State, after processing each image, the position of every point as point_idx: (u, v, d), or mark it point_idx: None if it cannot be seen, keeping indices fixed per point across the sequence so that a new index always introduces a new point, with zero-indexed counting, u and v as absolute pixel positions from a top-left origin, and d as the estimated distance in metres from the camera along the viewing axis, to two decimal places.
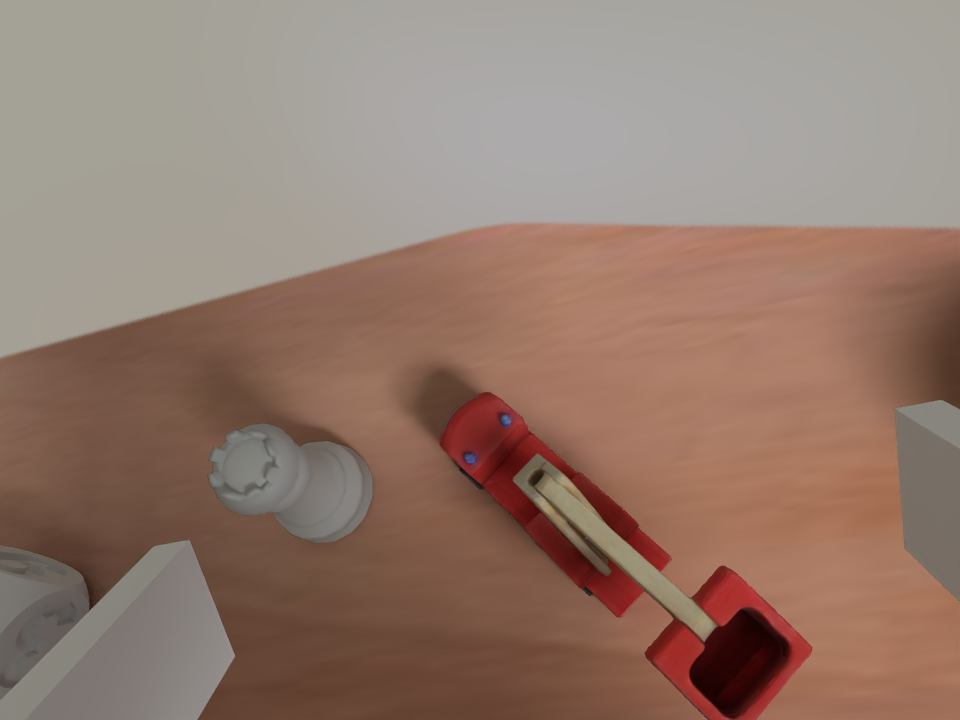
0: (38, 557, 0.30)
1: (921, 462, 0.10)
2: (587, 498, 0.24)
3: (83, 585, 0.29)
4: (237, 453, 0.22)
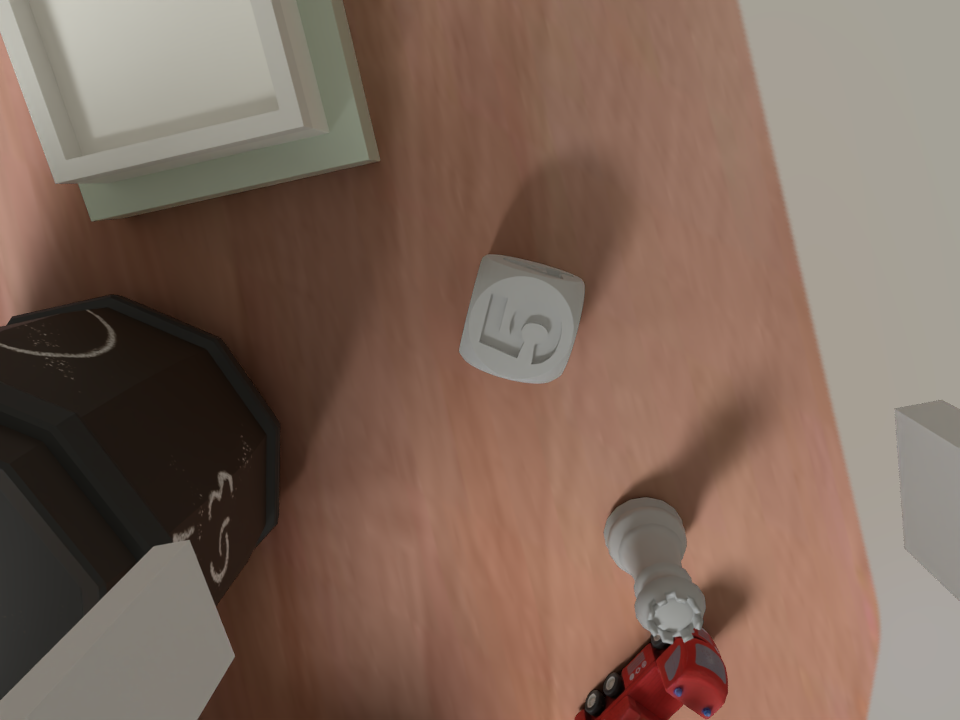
0: None
1: (921, 462, 0.10)
2: None
3: None
4: (682, 608, 0.29)
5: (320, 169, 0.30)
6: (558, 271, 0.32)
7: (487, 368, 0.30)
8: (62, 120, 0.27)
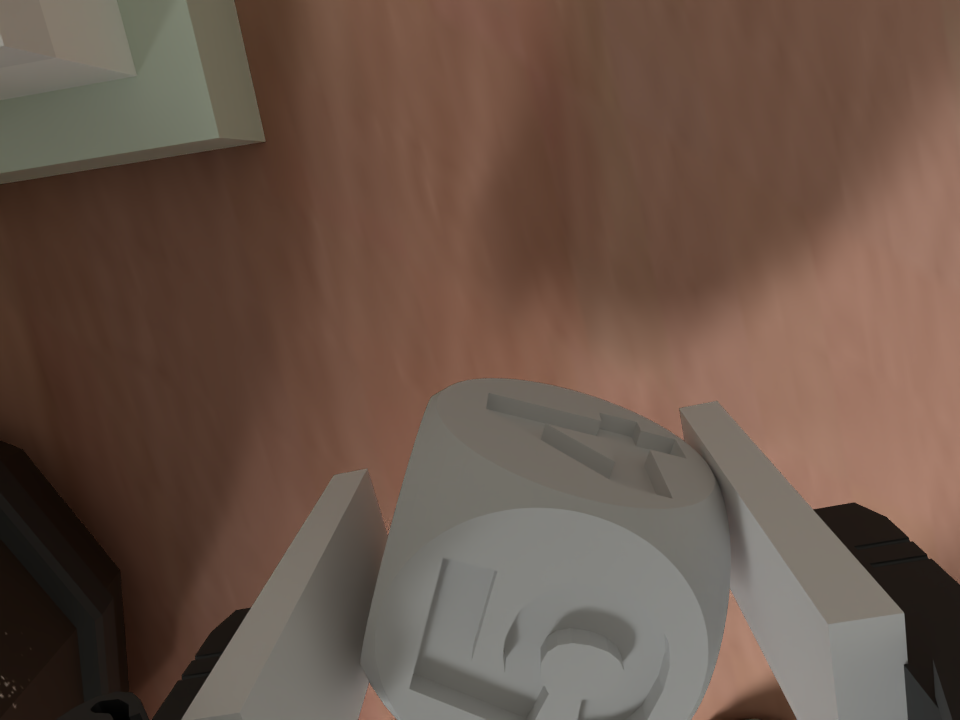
0: None
1: None
2: None
3: None
4: None
5: (121, 152, 0.15)
6: (632, 422, 0.12)
7: None
8: None
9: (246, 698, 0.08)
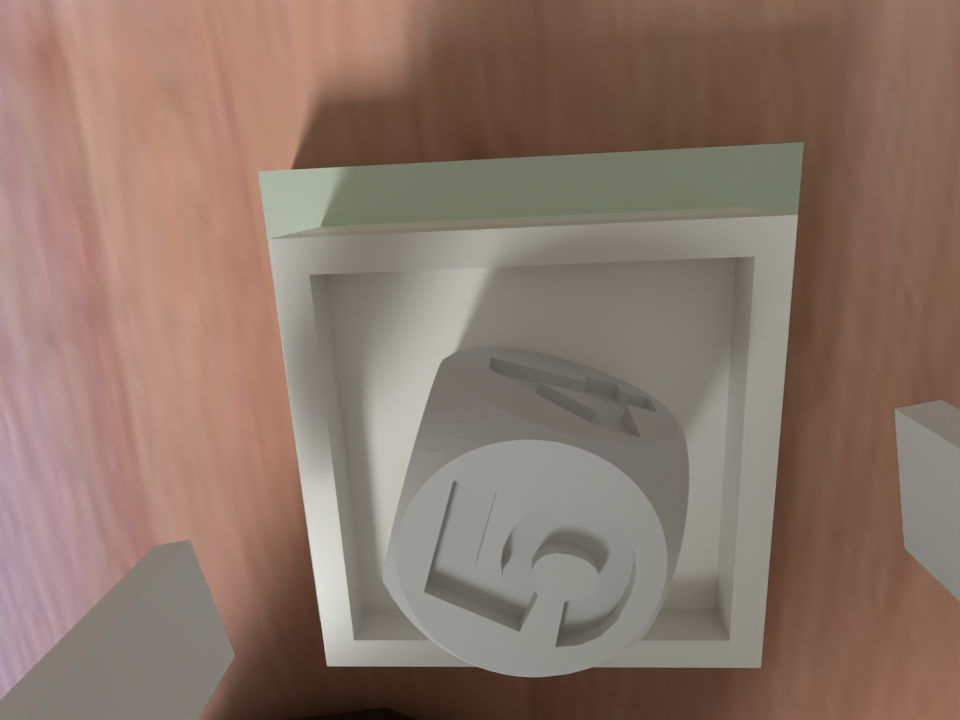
0: None
1: (921, 462, 0.10)
2: None
3: None
4: None
5: None
6: (614, 385, 0.14)
7: (446, 648, 0.12)
8: (353, 568, 0.17)
9: None
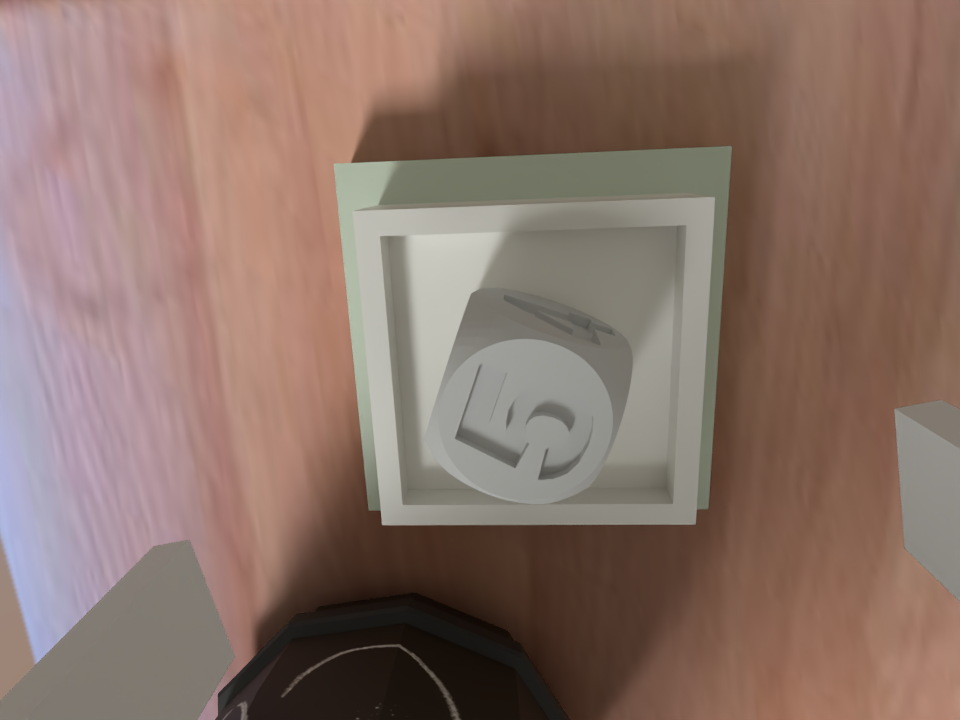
0: None
1: (921, 462, 0.10)
2: None
3: None
4: None
5: None
6: (588, 319, 0.20)
7: (466, 479, 0.18)
8: (402, 453, 0.23)
9: None
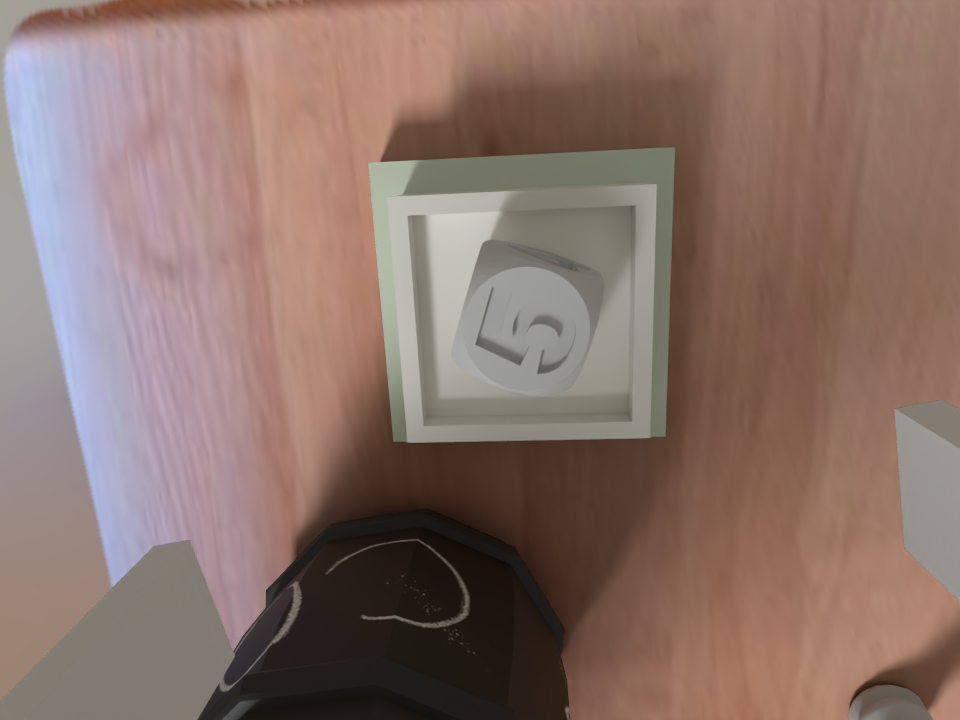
0: None
1: (921, 462, 0.10)
2: None
3: None
4: None
5: None
6: (571, 262, 0.27)
7: (484, 376, 0.25)
8: (422, 386, 0.30)
9: None
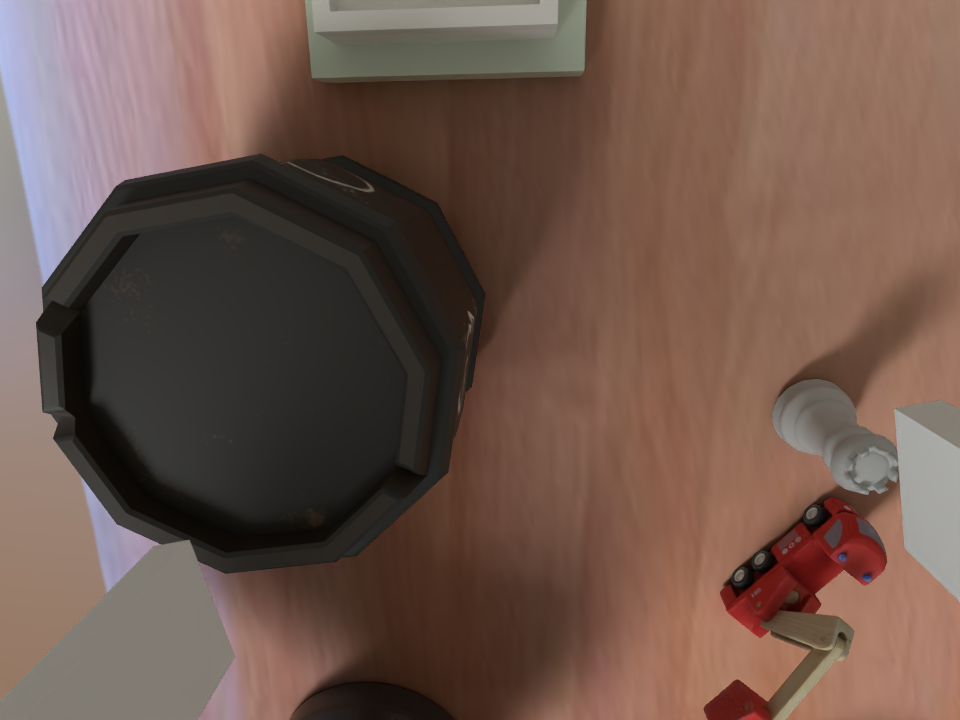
0: None
1: (921, 462, 0.10)
2: (805, 612, 0.39)
3: None
4: (880, 462, 0.32)
5: (537, 71, 0.32)
6: None
7: None
8: None
9: None
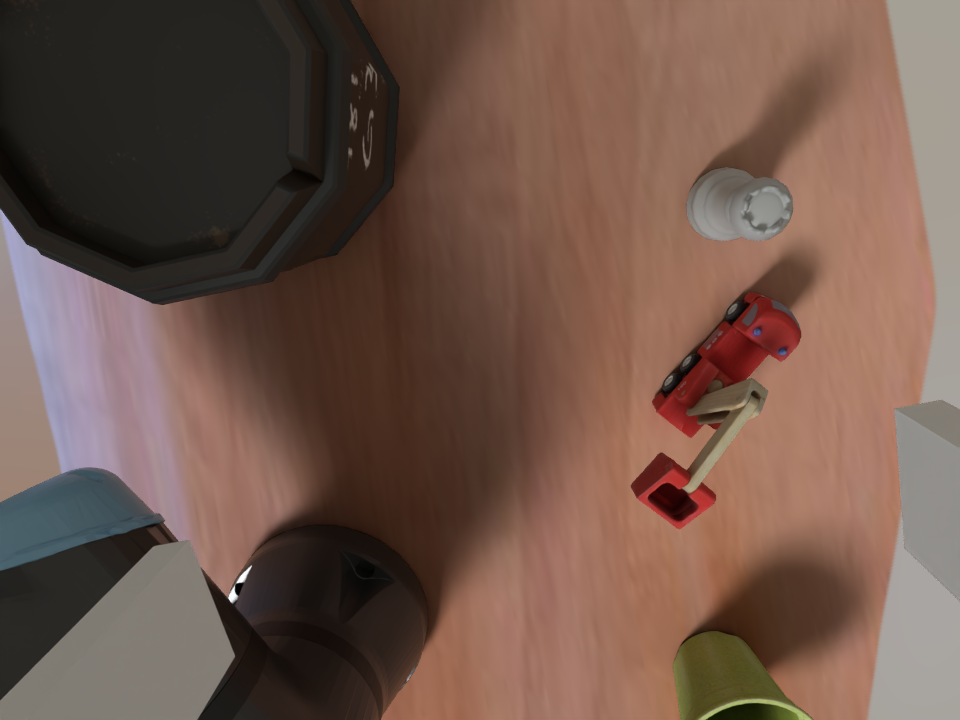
0: None
1: (921, 462, 0.10)
2: None
3: None
4: (773, 201, 0.33)
5: None
6: None
7: None
8: None
9: None
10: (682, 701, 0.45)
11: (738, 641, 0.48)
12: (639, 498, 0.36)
